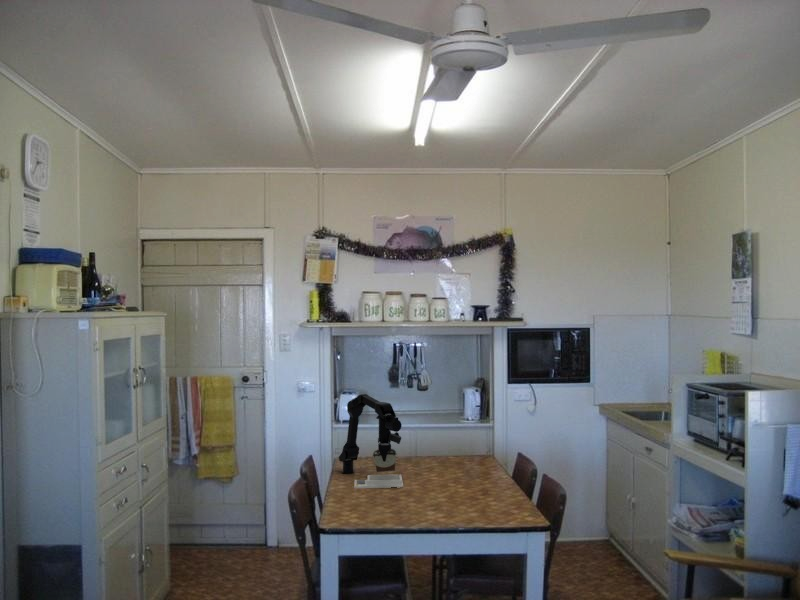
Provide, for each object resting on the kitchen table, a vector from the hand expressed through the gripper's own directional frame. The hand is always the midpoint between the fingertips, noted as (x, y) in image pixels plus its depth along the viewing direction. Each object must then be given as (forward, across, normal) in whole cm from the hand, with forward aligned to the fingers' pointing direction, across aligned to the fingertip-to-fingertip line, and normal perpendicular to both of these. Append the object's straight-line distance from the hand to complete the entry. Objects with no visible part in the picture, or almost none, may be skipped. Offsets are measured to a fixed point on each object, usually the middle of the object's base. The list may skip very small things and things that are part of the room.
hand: (384, 460), depth 321 cm
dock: (+12, 0, +3) cm, 13 cm away
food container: (+5, +2, -1) cm, 5 cm away
